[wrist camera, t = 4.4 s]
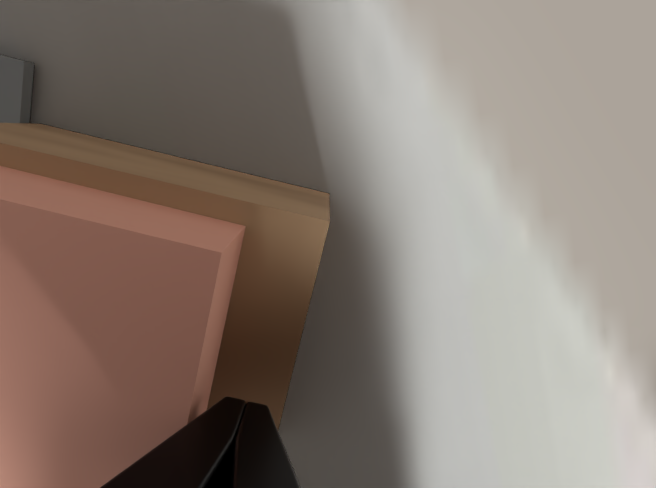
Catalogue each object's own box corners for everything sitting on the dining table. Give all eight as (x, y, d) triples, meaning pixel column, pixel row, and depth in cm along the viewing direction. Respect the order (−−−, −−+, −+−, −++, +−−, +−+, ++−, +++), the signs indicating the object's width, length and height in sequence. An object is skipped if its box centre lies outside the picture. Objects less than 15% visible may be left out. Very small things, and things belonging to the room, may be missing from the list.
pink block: (184, 515, 10) (150, 603, 8) (-60, 464, 10) (-153, 544, 8) (245, 225, 9) (221, 253, 7) (-43, 155, 8) (-154, 162, 6)
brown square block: (270, 435, 14) (249, 546, 11) (18, 382, 14) (-100, 478, 10) (329, 193, 13) (330, 221, 9) (40, 123, 12) (-94, 120, 8)
